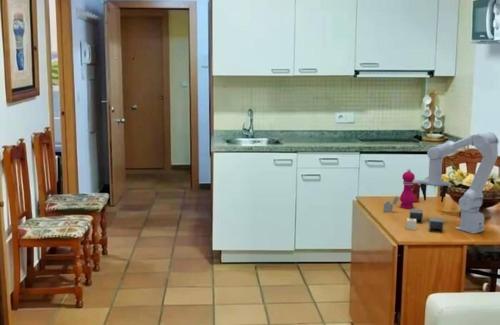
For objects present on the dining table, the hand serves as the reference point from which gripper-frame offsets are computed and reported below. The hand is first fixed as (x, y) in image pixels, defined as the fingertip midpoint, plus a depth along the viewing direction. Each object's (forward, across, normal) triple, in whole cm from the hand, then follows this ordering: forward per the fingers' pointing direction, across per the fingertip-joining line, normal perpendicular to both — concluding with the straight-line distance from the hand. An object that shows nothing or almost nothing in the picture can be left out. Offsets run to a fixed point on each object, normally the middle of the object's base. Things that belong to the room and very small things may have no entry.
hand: (433, 200), depth 278 cm
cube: (+10, -7, -18) cm, 21 cm away
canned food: (+9, -14, +35) cm, 39 cm away
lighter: (+9, -20, +7) cm, 24 cm away
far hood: (+9, -7, -5) cm, 13 cm away
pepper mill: (+9, -14, +20) cm, 27 cm away
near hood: (+9, +3, -17) cm, 19 cm away
